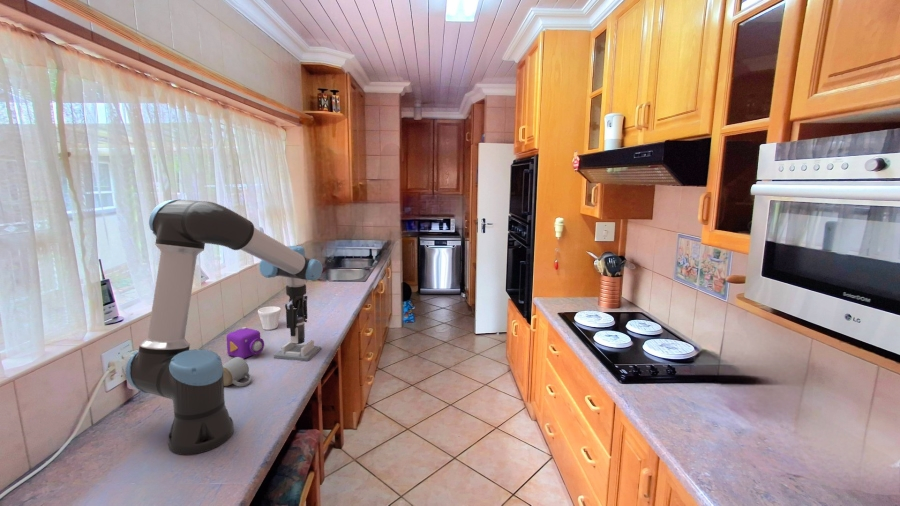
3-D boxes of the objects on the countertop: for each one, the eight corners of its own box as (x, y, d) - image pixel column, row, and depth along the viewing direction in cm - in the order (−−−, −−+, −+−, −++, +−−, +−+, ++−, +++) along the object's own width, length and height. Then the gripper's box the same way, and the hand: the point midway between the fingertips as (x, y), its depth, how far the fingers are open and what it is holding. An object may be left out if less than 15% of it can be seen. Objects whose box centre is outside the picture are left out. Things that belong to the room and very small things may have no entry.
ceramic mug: (213, 385, 138) (212, 364, 137) (232, 375, 146) (231, 354, 145) (239, 391, 136) (239, 369, 134) (257, 379, 144) (256, 359, 142)
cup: (281, 330, 190) (280, 311, 189) (257, 332, 186) (257, 313, 185) (281, 323, 199) (281, 305, 198) (259, 325, 196) (258, 307, 194)
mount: (307, 361, 159) (307, 351, 158) (274, 358, 161) (273, 348, 160) (321, 349, 171) (320, 339, 170) (289, 346, 173) (289, 337, 172)
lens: (307, 341, 166) (306, 317, 164) (295, 345, 162) (294, 320, 160) (300, 338, 169) (299, 314, 167) (288, 342, 165) (287, 317, 163)
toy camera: (253, 362, 157) (252, 337, 155) (223, 358, 160) (221, 333, 158) (271, 351, 167) (270, 328, 166) (242, 347, 170) (240, 324, 168)
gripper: (293, 291, 152) (295, 349, 156) (315, 280, 169) (316, 333, 173) (274, 289, 153) (277, 348, 157) (298, 279, 170) (300, 331, 174)
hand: (298, 340), depth 165 cm, fingers closed on lens, 5 cm apart
